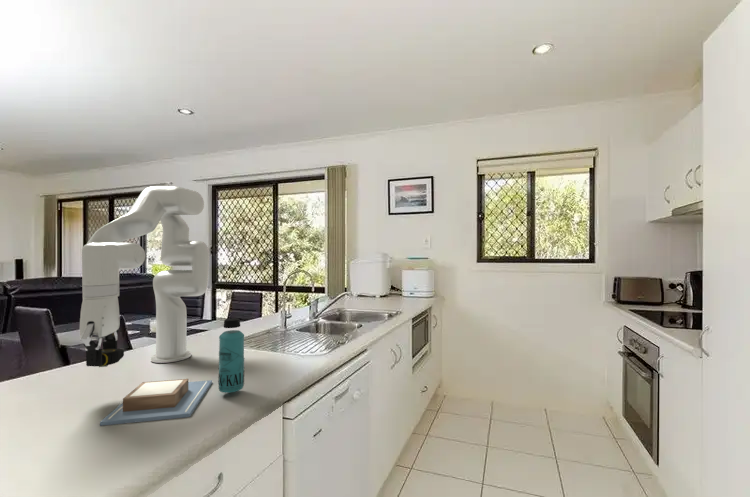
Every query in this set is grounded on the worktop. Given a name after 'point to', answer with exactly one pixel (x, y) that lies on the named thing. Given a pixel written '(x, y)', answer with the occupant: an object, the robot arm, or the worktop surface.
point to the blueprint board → (161, 412)
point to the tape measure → (111, 356)
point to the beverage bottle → (231, 358)
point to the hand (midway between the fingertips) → (102, 359)
